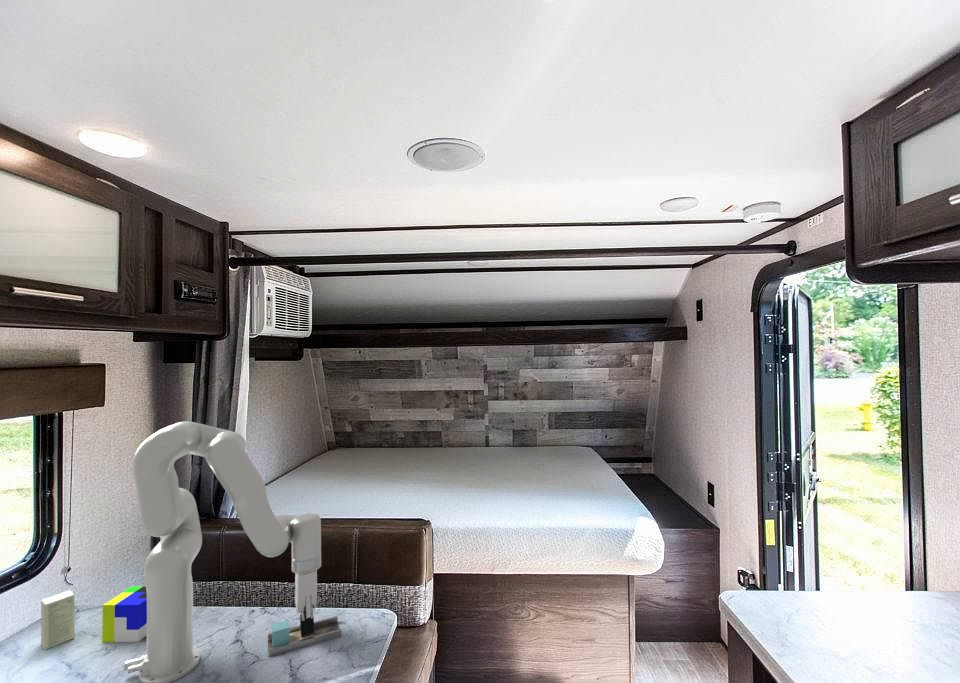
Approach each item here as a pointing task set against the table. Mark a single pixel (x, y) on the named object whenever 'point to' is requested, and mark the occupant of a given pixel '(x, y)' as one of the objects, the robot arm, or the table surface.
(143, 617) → the puzzle toy
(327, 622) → the board
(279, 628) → the cube
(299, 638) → the cream sled with handle
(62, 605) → the skincare box
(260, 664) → the table surface
